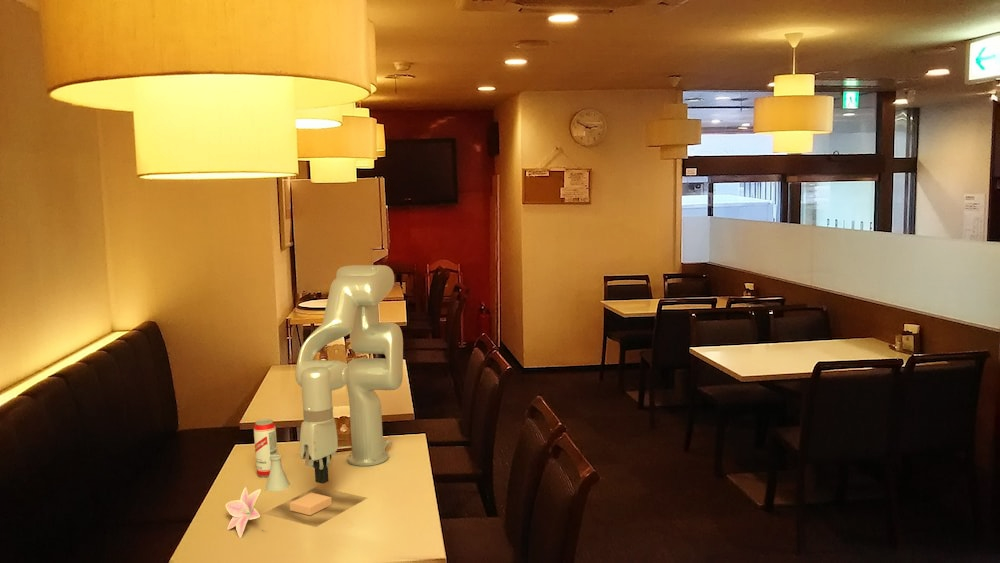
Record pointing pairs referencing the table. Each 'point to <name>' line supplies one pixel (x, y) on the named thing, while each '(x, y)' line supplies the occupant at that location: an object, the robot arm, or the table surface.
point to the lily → (242, 510)
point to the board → (338, 506)
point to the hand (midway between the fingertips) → (322, 481)
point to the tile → (310, 503)
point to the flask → (276, 475)
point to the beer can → (264, 445)
